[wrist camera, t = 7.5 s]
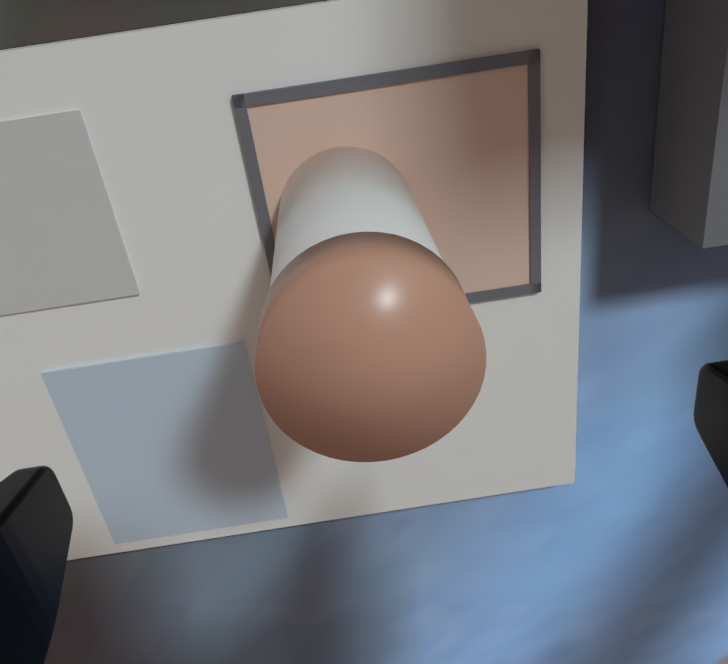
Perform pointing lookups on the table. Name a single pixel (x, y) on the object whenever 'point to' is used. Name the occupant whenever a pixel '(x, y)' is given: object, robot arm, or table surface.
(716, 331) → the table surface
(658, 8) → the table surface
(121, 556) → the table surface
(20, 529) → the robot arm
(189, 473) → the picture board
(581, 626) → the table surface
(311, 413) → the light grey cylinder
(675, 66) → the button housing
